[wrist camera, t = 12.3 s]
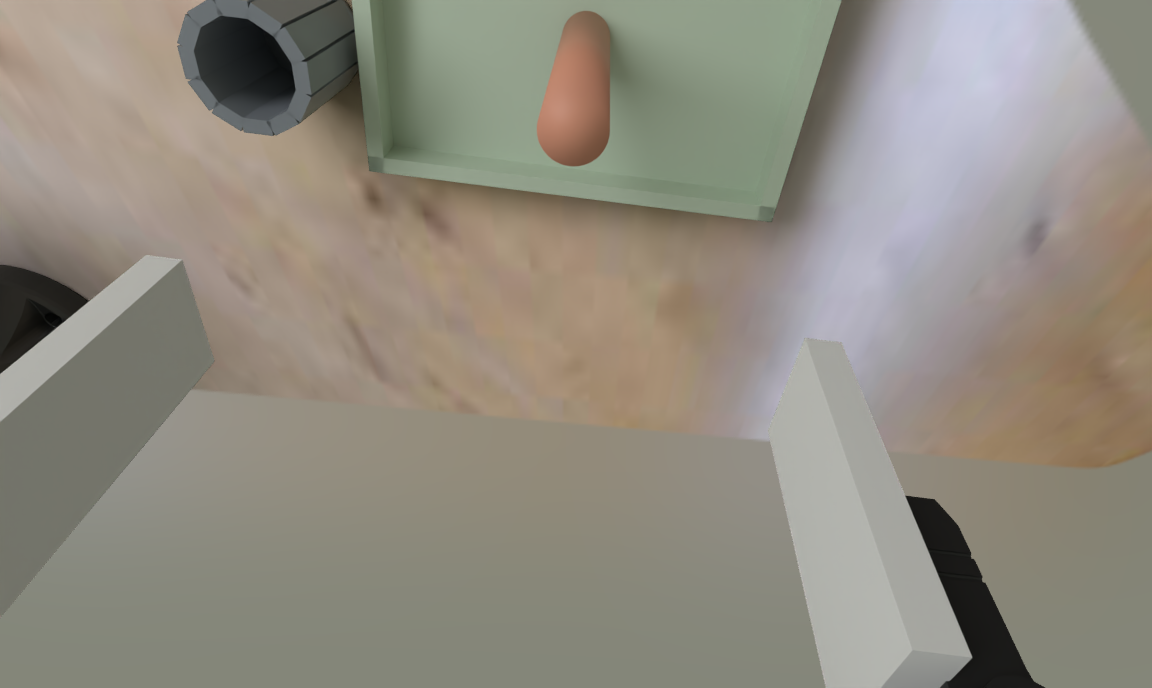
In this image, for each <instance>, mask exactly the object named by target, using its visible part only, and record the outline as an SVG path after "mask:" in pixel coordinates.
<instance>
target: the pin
mask: <svg viewBox="0 0 1152 688" xmlns="http://www.w3.org/2000/svg"><path fill="white" fill-rule="evenodd" d="M609 136H610V31H609V27H608V25H607V23H606V21H605V20H604V19H603V18H602V17H601V16H600V15H598V14H597V13H595V12H591V11H581V12H578V13H576V14H574V15H572V16H571V17H570V18H569V19H568V21H567V22H566V24H565V26H564V28H563V32H562V35H561V39H560V42H559V46H558V50H557V53H556V57H555V60H554V64H553V68H552V71H551V75H550V78H549V82H548V86H547V89H546V93H545V96H544V100H543V104H542V107H541V111H540V114H539V118H538V122H537V137H538V141H539V143H540V146H541V147H542V149H543V151H544V152H545V153H546V154H547V155H548V156H549V157H550V158H551V159H552V160H554V161H555V162H557V163H560V164H562V165H566V166H582V165H585V164H588V163H590V162H592V161H594V160H595V159H596V158H598V157H599V156H600V155H601V154H602V152H603V151H604V149H605V148H606V146H607V143H608V140H609Z"/></svg>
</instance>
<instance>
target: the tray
mask: <svg viewBox="0 0 1152 688" xmlns="http://www.w3.org/2000/svg"><path fill="white" fill-rule="evenodd" d="M840 4H841V0H352V8H353V18H354V27H355V37H356V47H357V56H358V66H359V76H360V85H361V95H362V105H363V114H364V124H365V134H366V143H367V153H368V163H369V171H372V172H380V173H388V174H396V175H404V176H412V177H420V178H428V179H435V180H443V181H451V182H459V183H467V184H475V185H483V186H491V187H498V188H506V189H514V190H522V191H530V192H538V193H546V194H554V195H561V196H569V197H577V198H585V199H593V200H601V201H609V202H617V203H624V204H632V205H640V206H648V207H656V208H664V209H672V210H680V211H688V212H695V213H703V214H711V215H719V216H727V217H735V218H743V219H751V220H758V221H766V222H772V219H773V216H774V213H775V210H776V206H777V203H778V200H779V197H780V194H781V191H782V187H783V184H784V181H785V178H786V175H787V172H788V168H789V165H790V162H791V159H792V156H793V153H794V149H795V146H796V143H797V140H798V137H799V133H800V130H801V127H802V124H803V121H804V118H805V114H806V111H807V108H808V105H809V102H810V99H811V95H812V92H813V89H814V86H815V83H816V80H817V76H818V73H819V70H820V67H821V64H822V61H823V57H824V54H825V51H826V48H827V45H828V42H829V38H830V35H831V32H832V29H833V26H834V23H835V19H836V16H837V13H838V10H839V7H840ZM581 11H591V12H595V13H597V14H598V15H600V16H601V17H602V18H603V19H604V20H605V21H606V23H607V25H608V27H609V31H610V136H609V140H608V143H607V146H606V148H605V149H604V151H603V152H602V154H601V155H600V156H599V157H598V158H596V159H595V160H594V161H592V162H590V163H588V164H585V165H582V166H566V165H562V164H560V163H557V162H555V161H554V160H552V159H551V158H550V157H549V156H548V155H547V154H546V153H545V152H544V151H543V149H542V147H541V146H540V143H539V141H538V137H537V122H538V118H539V114H540V111H541V107H542V104H543V100H544V96H545V93H546V89H547V86H548V82H549V78H550V75H551V71H552V68H553V64H554V60H555V57H556V53H557V50H558V46H559V42H560V39H561V35H562V32H563V28H564V26H565V24H566V22H567V21H568V19H569V18H570V17H571V16H572V15H574V14H576V13H578V12H581Z"/></svg>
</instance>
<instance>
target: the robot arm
mask: <svg viewBox="0 0 1152 688" xmlns="http://www.w3.org/2000/svg"><path fill="white" fill-rule="evenodd" d="M213 362H214V358H213V355H212V352H211V349H210V345H209V342H208V339H207V336H206V333H205V330H204V327H203V323H202V320H201V317H200V314H199V311H198V308H197V305H196V301H195V298H194V295H193V292H192V289H191V286H190V283H189V280H188V276H187V273H186V270H185V267H184V264H183V261H182V260H180V259H172V258H164V257H157V256H149V255H145V256H144V257H143V258H142V259H141V260H139V261H138V262H137V263H136V264H134V265H133V266H132V267H131V268H130V269H128V270H127V271H126V272H125V273H123V274H122V275H121V276H120V277H119V278H117V279H116V280H115V281H114V282H112V283H111V284H110V285H109V286H107V287H106V288H105V289H104V290H103V291H101V292H100V293H99V294H98V295H96V296H95V297H94V298H93V299H92V300H90V301H89V302H87V301H86V300H85V299H83V298H82V297H81V296H79V295H78V294H76V293H75V292H73V291H72V290H70V289H68V288H67V287H65V286H63V285H61V284H59V283H57V282H55V281H53V280H51V279H49V278H47V277H44V276H42V275H40V274H37V273H34V272H31V271H28V270H25V269H21V268H17V267H12V266H6V265H0V618H1V617H2V615H3V614H4V613H5V612H6V611H7V609H8V608H9V607H10V606H11V605H12V603H13V602H14V601H15V600H16V598H17V597H18V596H19V595H20V594H21V593H22V591H23V590H24V589H25V588H26V587H27V585H28V584H29V583H30V582H31V581H32V579H33V578H34V577H35V576H36V574H37V573H38V572H39V571H40V570H41V569H42V567H43V566H44V565H45V564H46V563H47V561H48V560H49V559H50V558H51V557H52V555H53V554H54V553H55V552H56V551H57V549H58V548H59V547H60V546H61V545H62V543H63V542H64V541H65V540H66V538H67V537H68V536H69V535H70V534H71V533H72V531H73V530H74V529H75V528H76V527H77V525H78V524H79V523H80V522H81V521H82V519H83V518H84V517H85V516H86V515H87V513H88V512H89V511H90V510H91V509H92V507H93V506H94V505H95V504H96V503H97V501H98V500H99V499H100V498H101V496H102V495H103V494H104V493H105V492H106V490H107V489H108V488H109V487H110V486H111V485H112V484H113V482H114V481H115V480H116V479H117V478H118V476H119V475H120V474H121V473H122V471H123V470H124V469H125V468H126V467H127V466H128V464H129V463H130V462H131V461H132V459H133V458H134V457H135V456H136V455H137V453H138V452H139V451H140V450H141V449H142V448H143V446H144V445H145V444H146V443H147V442H148V440H149V439H150V438H151V437H152V436H153V434H154V433H155V432H156V430H158V428H159V427H160V426H161V425H162V424H163V422H164V421H165V420H166V419H167V417H168V416H169V415H170V414H171V413H172V412H173V410H174V409H175V408H176V407H177V405H178V404H179V403H180V402H181V401H182V400H183V398H184V397H185V396H186V395H187V393H188V392H189V391H190V390H191V389H192V388H193V386H194V385H195V384H196V383H197V382H198V380H199V379H200V378H201V377H202V376H203V374H204V373H205V372H206V371H207V370H208V368H209V367H210V366H211V365H212V364H213ZM768 433H769V437H770V442H771V446H772V450H773V455H774V460H775V464H776V469H777V473H778V477H779V481H780V486H781V491H782V495H783V500H784V504H785V509H786V513H787V517H788V522H789V526H790V531H791V535H792V540H793V544H794V548H795V553H796V557H797V562H798V566H799V571H800V575H801V579H802V584H803V588H804V593H805V597H806V602H807V606H808V611H809V615H810V620H811V624H812V628H813V633H814V637H815V642H816V646H817V650H818V655H819V660H820V663H821V668H822V673H823V677H824V682H825V686H826V688H1045V687H1043V686H1041V685H1039V684H1037V683H1036V682H1034V681H1033V679H1032V678H1031V676H1030V674H1029V672H1028V671H1027V669H1026V667H1025V665H1024V663H1023V661H1022V659H1021V657H1020V654H1019V652H1018V650H1017V648H1016V646H1015V644H1014V642H1013V640H1012V638H1011V636H1010V633H1009V631H1008V629H1007V627H1006V625H1005V623H1004V621H1003V619H1002V617H1001V615H1000V613H999V610H998V608H997V606H996V604H995V602H994V600H993V598H992V596H991V594H990V591H989V589H988V587H987V585H986V583H983V582H982V575H981V573H980V570H979V568H978V566H977V564H976V562H975V560H974V559H971V552H970V549H969V548H968V545H967V543H966V541H965V539H964V537H963V535H962V533H961V531H960V528H959V526H958V525H957V524H956V523H955V522H954V520H953V519H952V518H951V517H950V516H949V515H948V514H947V513H946V511H945V510H944V509H943V508H942V507H941V506H940V505H939V504H938V503H937V502H936V501H935V499H927V498H919V497H911V496H905V494H904V492H903V489H902V487H901V485H900V482H899V480H898V478H897V475H896V473H895V470H894V468H893V465H892V463H891V461H890V458H889V456H888V453H887V451H886V449H885V446H884V444H883V441H882V439H881V437H880V434H879V432H878V429H877V427H876V424H875V422H874V420H873V417H872V415H871V412H870V410H869V408H868V405H867V403H866V400H865V398H864V396H863V393H862V391H861V388H860V386H859V384H858V381H857V379H856V376H855V374H854V372H853V369H852V367H851V364H850V362H849V360H848V357H847V355H846V352H845V350H844V348H843V345H842V343H841V342H833V341H825V340H817V339H809V338H805V339H804V342H803V344H802V347H801V349H800V352H799V354H798V357H797V359H796V362H795V364H794V367H793V369H792V372H791V374H790V377H789V379H788V382H787V384H786V387H785V389H784V392H783V394H782V397H781V399H780V402H779V404H778V407H777V409H776V412H775V415H774V417H773V420H772V422H771V425H770V427H769V430H768Z"/></svg>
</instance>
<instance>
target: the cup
mask: <svg viewBox="0 0 1152 688" xmlns="http://www.w3.org/2000/svg"><path fill="white" fill-rule="evenodd" d="M187 13H188V14H185V18H184V21H183V24H182V28H181V31H180V35H179V38H178V42H177V43H178V44H180V45H178V46H177V47H178V51H179V54H180V58H181V62H182V66H183V70H184V73H185V77H186V79H191V80H190V81H188V83H189V85H190V86H191V87H192V89H193V90H194V91H195V92H196V94H197V95H198V96H199V98H200V99H201V100H202V102H203V103H204V104H205V106H206V107H207V108H208V110H209V111H210V110H212V109H213V108H214V109H213V112H212V113H213V114H214V115H216V116H217V117H219V118H221V119H222V120H224V121H225V122H227V123H229V124H230V125H232V126H234V127H235V128H237V129H238V130H240V131H242V130H244V132H246V133H254V134H262V135H270V136H274V135H278V134H280V133H282V132H284V131H286V130H288V129H290V128H292V127H294V126H296V125H298V124H299V123H301V122H302V121H303V120H304V119H306V118H307V117H308V116H309V115H311V114H312V113H313V112H314V111H316V110H317V109H318V108H319V107H321V106H322V105H323V104H325V103H326V102H327V101H328V100H330V99H331V98H332V97H333V96H335V95H336V94H337V93H338V92H340V91H341V90H342V89H343V88H345V87H346V86H347V85H348V84H349V83H350V82H351V80H352V78H353V77H354V76H355V75H356V73H357V71H358V69H359V66H358V56H357V47H356V37H355V27H354V18H353V12H352V10H351V9H350V7H349V6H348V4H347V3H346V2H345V0H206V1H204V2H203V3H201V4H200V5H198V6H196V7H195V8H193V9H191V10H190V11H188V12H187Z"/></svg>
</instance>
